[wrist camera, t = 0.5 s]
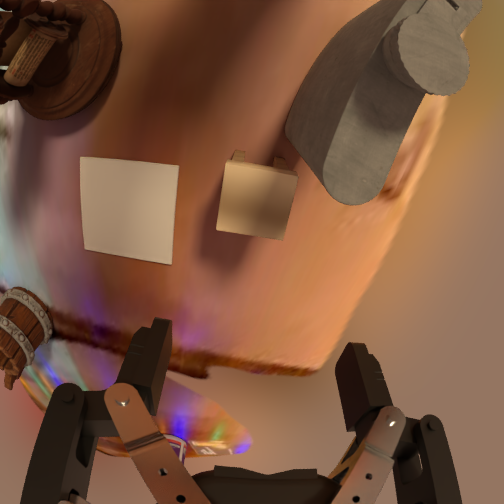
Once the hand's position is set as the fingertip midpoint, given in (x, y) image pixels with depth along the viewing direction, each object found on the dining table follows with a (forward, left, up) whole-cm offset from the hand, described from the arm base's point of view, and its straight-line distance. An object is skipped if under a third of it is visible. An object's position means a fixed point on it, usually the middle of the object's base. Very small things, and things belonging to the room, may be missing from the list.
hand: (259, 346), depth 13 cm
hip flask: (-14, +5, -21) cm, 26 cm away
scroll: (-14, -23, -21) cm, 35 cm away
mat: (+4, -14, -21) cm, 26 cm away
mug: (+27, -35, -21) cm, 50 cm away
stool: (-2, 0, -21) cm, 21 cm away
